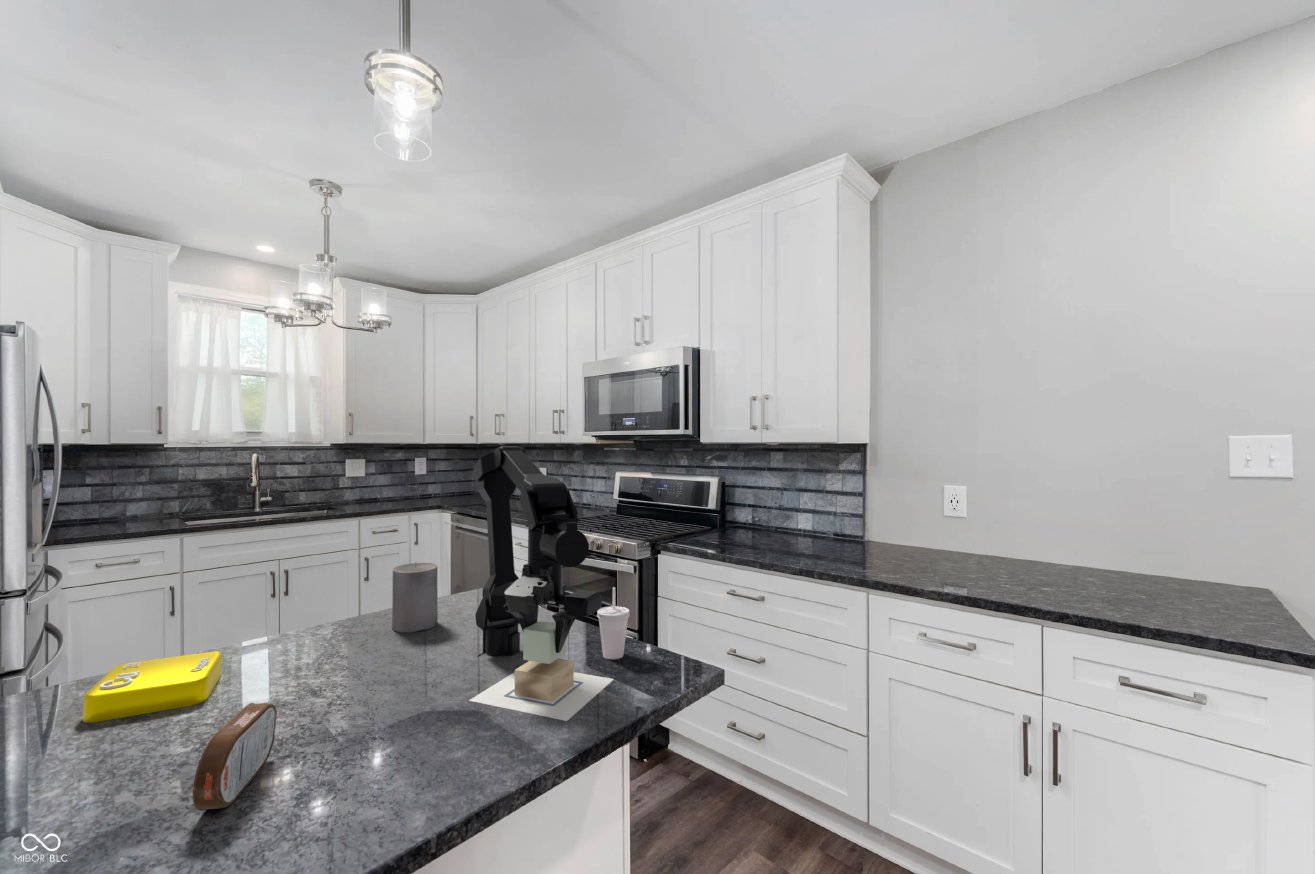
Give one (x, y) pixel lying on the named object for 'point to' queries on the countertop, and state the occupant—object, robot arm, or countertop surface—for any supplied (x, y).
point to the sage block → (541, 643)
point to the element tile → (152, 686)
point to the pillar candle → (414, 597)
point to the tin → (234, 756)
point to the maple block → (544, 679)
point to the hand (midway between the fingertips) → (544, 650)
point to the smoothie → (613, 629)
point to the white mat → (558, 708)
